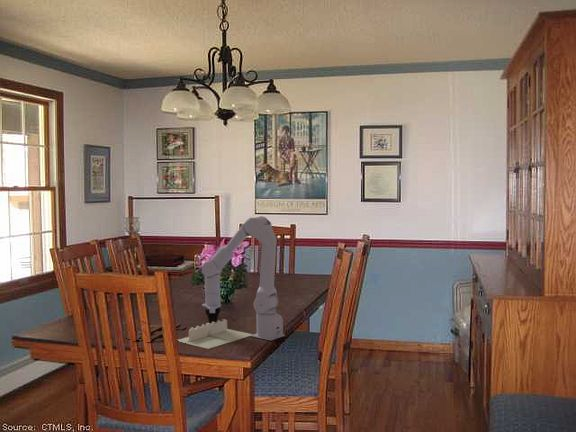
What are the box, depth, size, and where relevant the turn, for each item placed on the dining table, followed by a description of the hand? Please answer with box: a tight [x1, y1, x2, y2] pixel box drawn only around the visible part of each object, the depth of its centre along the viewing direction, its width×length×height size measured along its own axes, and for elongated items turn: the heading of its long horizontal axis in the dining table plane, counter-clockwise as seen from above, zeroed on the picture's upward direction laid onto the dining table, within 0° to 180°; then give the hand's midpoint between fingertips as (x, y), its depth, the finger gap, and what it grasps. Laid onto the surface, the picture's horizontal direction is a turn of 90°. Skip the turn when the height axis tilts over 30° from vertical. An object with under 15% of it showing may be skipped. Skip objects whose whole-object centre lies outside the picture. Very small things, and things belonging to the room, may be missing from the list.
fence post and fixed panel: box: [188, 322, 211, 341], centre depth 210 cm, size 2×10×5 cm, turn 141°
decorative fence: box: [137, 323, 188, 343], centre depth 218 cm, size 23×2×15 cm
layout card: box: [177, 328, 255, 350], centre depth 211 cm, size 17×23×1 cm
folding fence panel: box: [211, 318, 228, 335], centre depth 217 cm, size 8×1×5 cm, turn 141°
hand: (213, 327), depth 220 cm, fingers closed
